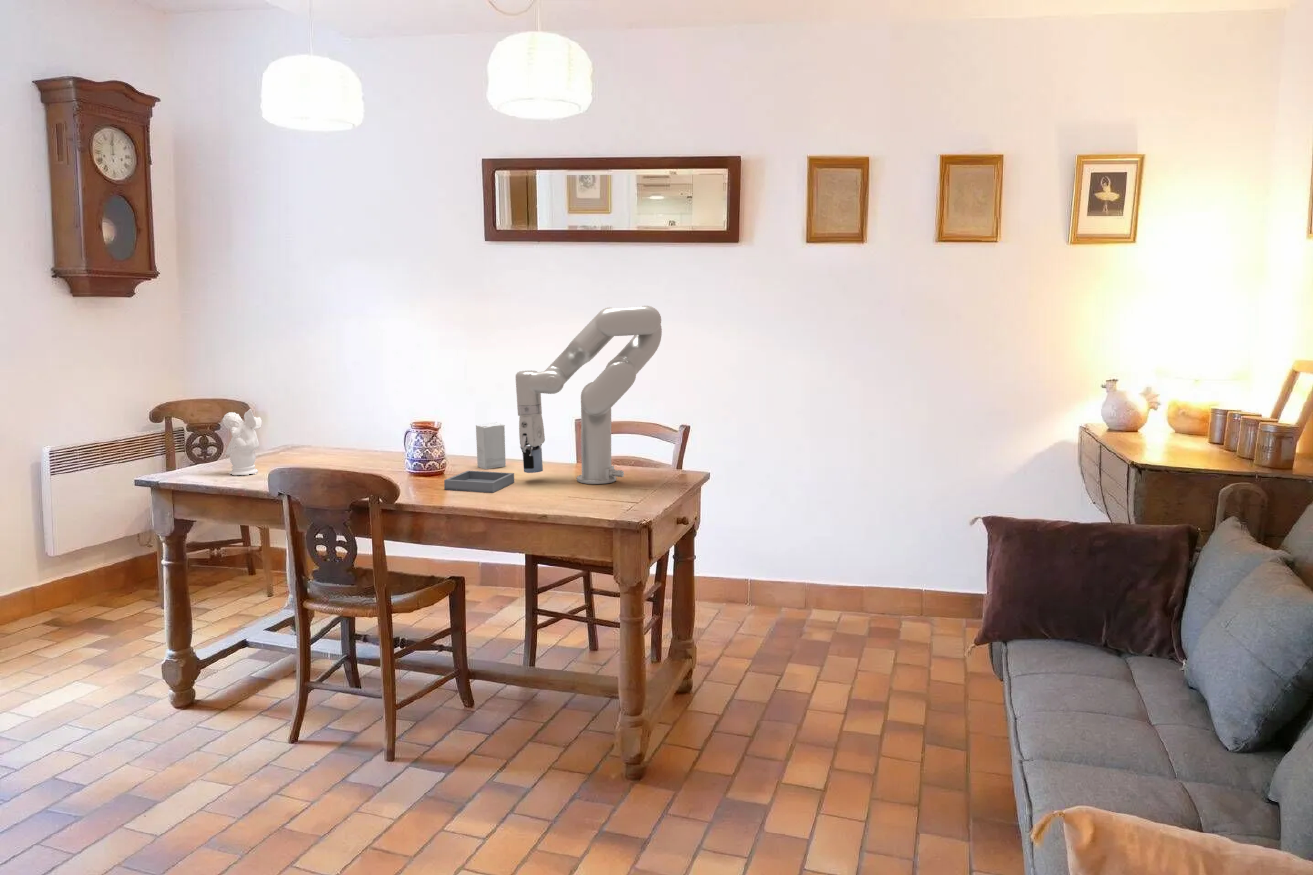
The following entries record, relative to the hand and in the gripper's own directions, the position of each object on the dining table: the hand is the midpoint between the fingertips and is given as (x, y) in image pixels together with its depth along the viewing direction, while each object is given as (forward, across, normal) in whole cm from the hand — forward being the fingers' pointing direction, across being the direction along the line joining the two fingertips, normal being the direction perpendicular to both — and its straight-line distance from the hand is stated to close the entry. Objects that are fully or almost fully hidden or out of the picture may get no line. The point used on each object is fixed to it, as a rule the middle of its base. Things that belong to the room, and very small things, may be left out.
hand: (533, 465), depth 308 cm
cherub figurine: (+1, -13, +95) cm, 96 cm away
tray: (+4, -11, +13) cm, 18 cm away
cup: (+2, 0, 0) cm, 2 cm away
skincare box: (+5, +19, +23) cm, 30 cm away
